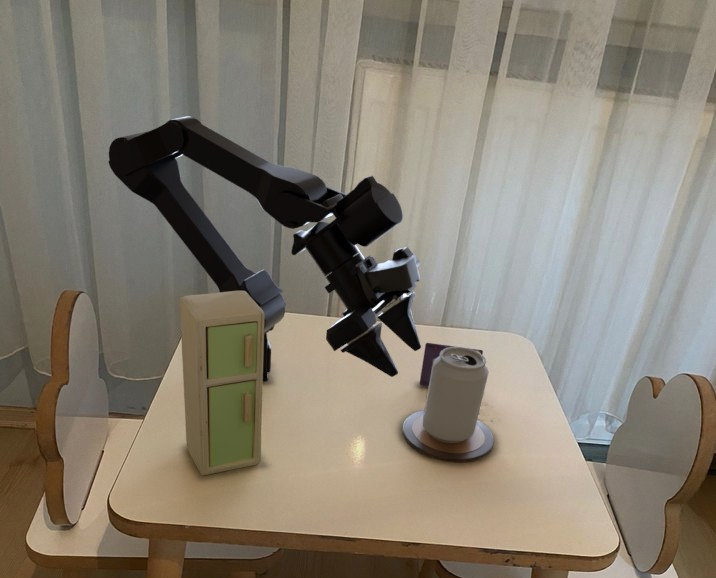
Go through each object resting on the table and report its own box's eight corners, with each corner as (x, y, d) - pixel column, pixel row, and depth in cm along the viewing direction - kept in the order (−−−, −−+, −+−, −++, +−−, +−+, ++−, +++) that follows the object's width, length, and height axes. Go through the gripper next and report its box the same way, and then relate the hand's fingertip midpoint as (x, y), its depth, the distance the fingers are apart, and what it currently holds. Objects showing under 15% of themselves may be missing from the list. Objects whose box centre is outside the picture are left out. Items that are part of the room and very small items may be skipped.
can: (479, 446, 99) (498, 369, 92) (427, 446, 97) (443, 368, 90) (465, 417, 105) (481, 343, 98) (416, 417, 103) (429, 342, 96)
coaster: (414, 463, 95) (415, 459, 94) (393, 412, 105) (393, 408, 105) (505, 461, 98) (506, 457, 97) (476, 411, 108) (477, 408, 108)
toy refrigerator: (201, 480, 87) (198, 321, 75) (184, 448, 92) (178, 294, 80) (263, 468, 90) (268, 314, 78) (243, 437, 96) (245, 289, 84)
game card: (426, 343, 110) (483, 350, 110) (424, 339, 115) (479, 347, 115) (419, 385, 112) (476, 393, 112) (418, 380, 117) (472, 388, 117)
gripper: (358, 251, 83) (431, 362, 86) (413, 215, 97) (473, 311, 100) (294, 298, 89) (364, 399, 93) (354, 257, 104) (413, 346, 107)
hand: (407, 361), depth 98 cm, fingers open, 9 cm apart
